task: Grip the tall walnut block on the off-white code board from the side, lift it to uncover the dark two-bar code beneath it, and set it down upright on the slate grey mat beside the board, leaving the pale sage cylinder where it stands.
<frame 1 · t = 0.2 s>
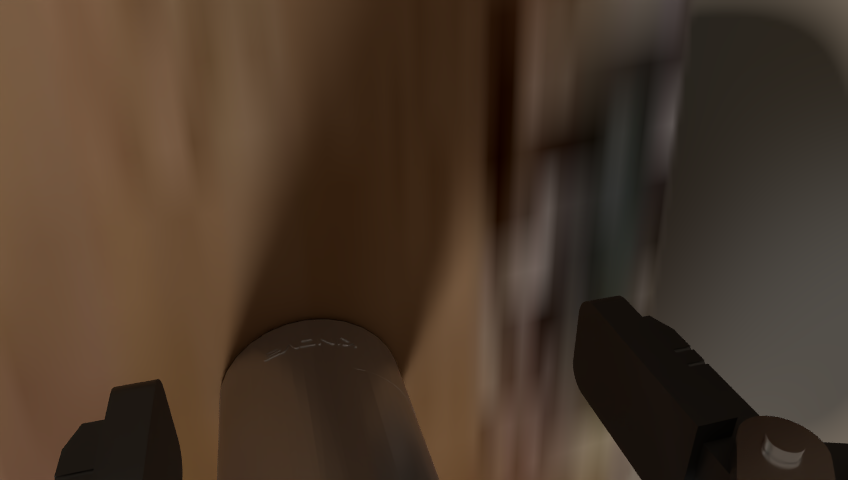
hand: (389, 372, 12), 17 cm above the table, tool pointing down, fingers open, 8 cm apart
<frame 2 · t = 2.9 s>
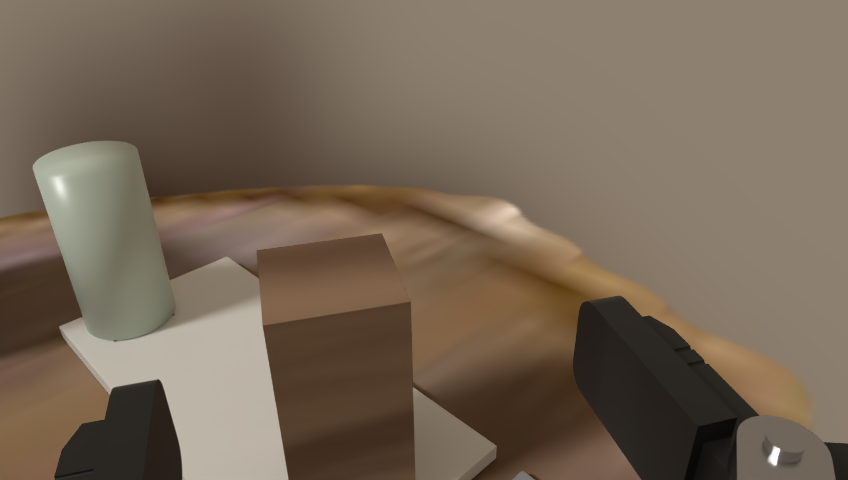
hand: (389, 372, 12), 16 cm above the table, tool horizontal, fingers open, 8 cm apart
walnut block: (347, 463, 29), point 1 cm above the table, touching code board
code board: (253, 390, 34), on the table
sage cylinder: (131, 313, 39), point 1 cm above the table, touching code board
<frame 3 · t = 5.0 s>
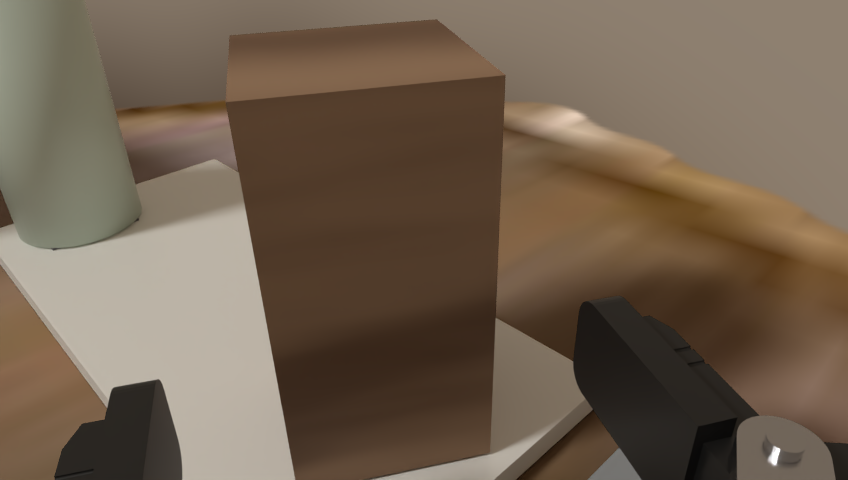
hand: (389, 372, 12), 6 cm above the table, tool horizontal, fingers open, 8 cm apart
walnut block: (379, 403, 19), point 1 cm above the table, touching code board
code board: (241, 311, 24), on the table
sage cylinder: (81, 218, 29), point 1 cm above the table, touching code board
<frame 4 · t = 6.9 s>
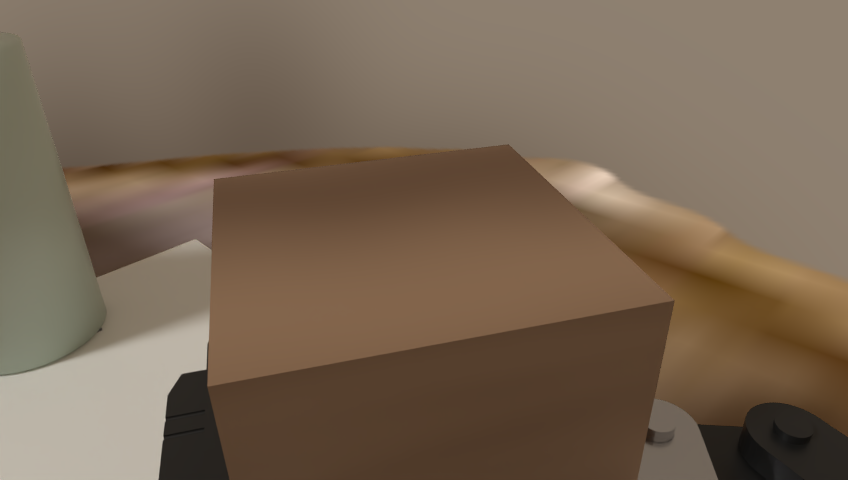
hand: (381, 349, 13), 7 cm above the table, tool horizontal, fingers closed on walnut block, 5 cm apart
code board: (228, 466, 19), on the table
sage cylinder: (31, 328, 24), point 1 cm above the table, touching code board
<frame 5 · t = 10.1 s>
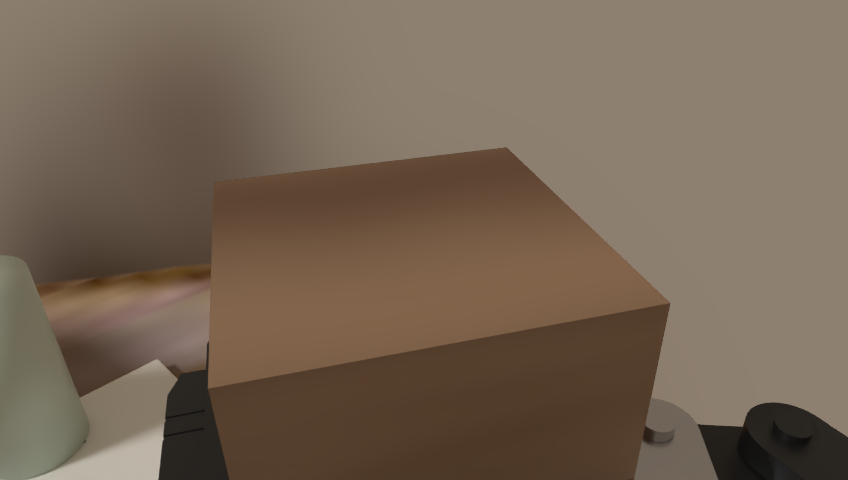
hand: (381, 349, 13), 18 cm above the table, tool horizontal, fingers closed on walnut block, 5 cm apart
sage cylinder: (38, 441, 34), point 1 cm above the table, touching code board
when the fingers open (8 cm above the table, at t = 13.4 s): walnut block drops 1 cm, resting on grey mat.
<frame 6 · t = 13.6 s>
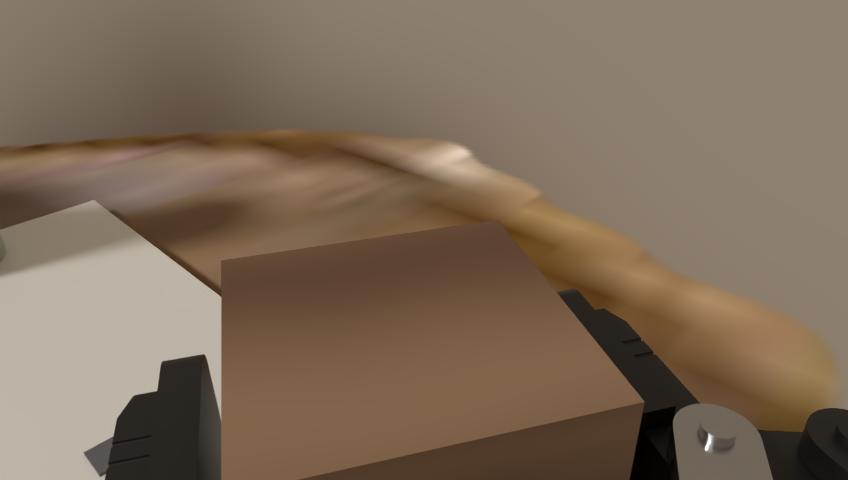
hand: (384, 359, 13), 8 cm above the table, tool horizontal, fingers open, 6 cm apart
code board: (76, 356, 25), on the table
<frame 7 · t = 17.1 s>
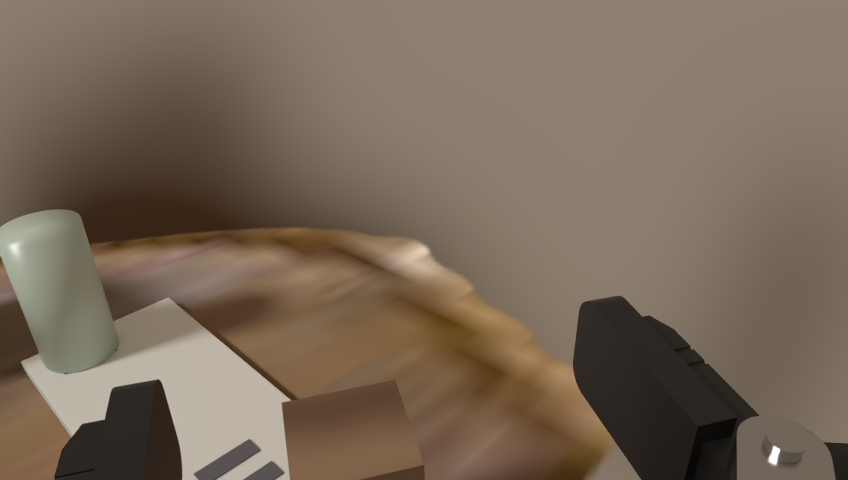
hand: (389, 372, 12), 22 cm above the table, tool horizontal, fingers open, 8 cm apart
code board: (175, 414, 42), on the table
sage cylinder: (81, 349, 47), point 1 cm above the table, touching code board
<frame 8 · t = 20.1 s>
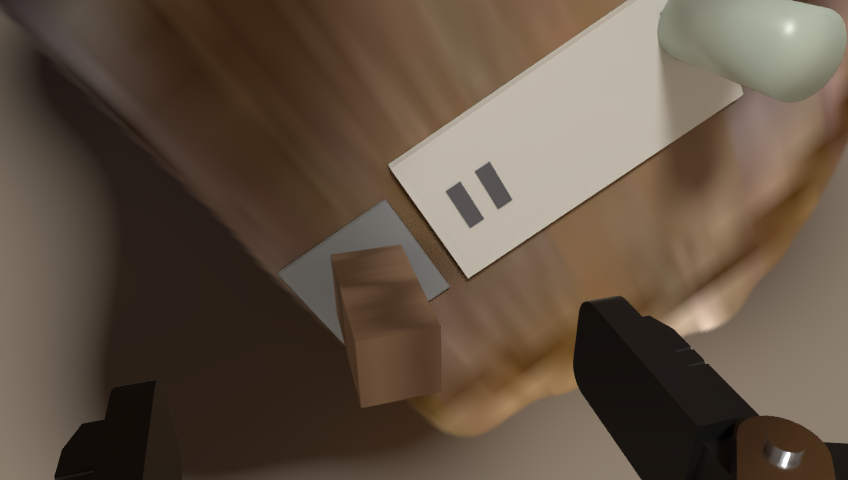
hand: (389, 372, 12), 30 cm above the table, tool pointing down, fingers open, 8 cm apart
walnut block: (368, 279, 47), resting on grey mat
grey mat: (367, 278, 47), on the table
code board: (570, 126, 46), on the table
sage cylinder: (692, 21, 43), point 1 cm above the table, touching code board
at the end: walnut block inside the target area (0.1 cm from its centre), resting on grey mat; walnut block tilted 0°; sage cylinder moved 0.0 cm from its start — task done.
